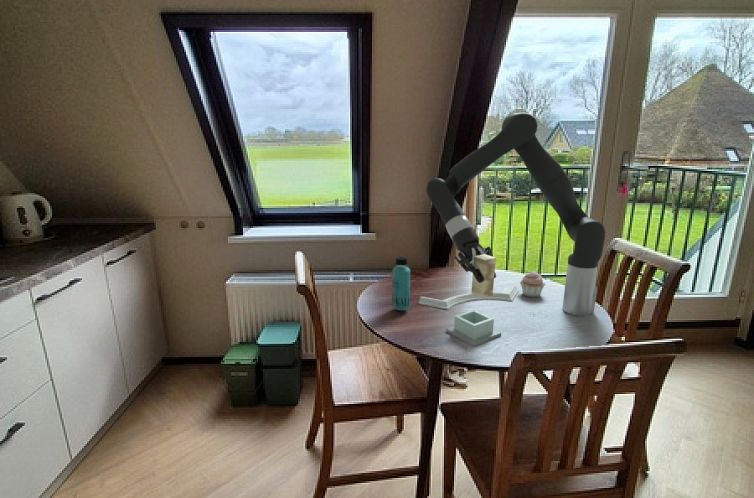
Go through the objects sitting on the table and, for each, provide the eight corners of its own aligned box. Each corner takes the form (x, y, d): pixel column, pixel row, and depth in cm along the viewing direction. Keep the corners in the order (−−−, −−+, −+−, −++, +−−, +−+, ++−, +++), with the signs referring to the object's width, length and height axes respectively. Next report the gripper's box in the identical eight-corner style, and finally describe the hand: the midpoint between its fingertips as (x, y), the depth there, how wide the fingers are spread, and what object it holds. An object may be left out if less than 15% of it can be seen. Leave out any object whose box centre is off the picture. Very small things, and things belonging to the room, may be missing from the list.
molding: (512, 289, 168) (513, 282, 167) (530, 300, 157) (531, 293, 156) (415, 301, 158) (415, 294, 157) (426, 313, 146) (427, 306, 145)
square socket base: (472, 321, 138) (473, 306, 137) (501, 335, 129) (502, 319, 127) (446, 331, 132) (446, 315, 131) (473, 346, 122) (474, 329, 121)
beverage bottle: (398, 305, 152) (398, 253, 147) (413, 309, 149) (414, 256, 143) (388, 311, 147) (388, 258, 142) (404, 316, 143) (404, 261, 138)
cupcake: (534, 289, 166) (536, 265, 163) (549, 297, 157) (551, 272, 155) (513, 291, 164) (515, 267, 161) (527, 300, 155) (530, 275, 152)
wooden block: (481, 290, 129) (484, 254, 126) (492, 295, 126) (496, 257, 122) (471, 293, 127) (474, 256, 124) (482, 298, 123) (485, 260, 120)
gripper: (451, 228, 123) (478, 278, 117) (484, 223, 131) (511, 270, 124) (438, 242, 129) (463, 290, 122) (471, 236, 136) (496, 281, 130)
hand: (487, 279), depth 123 cm, fingers closed on wooden block, 4 cm apart
